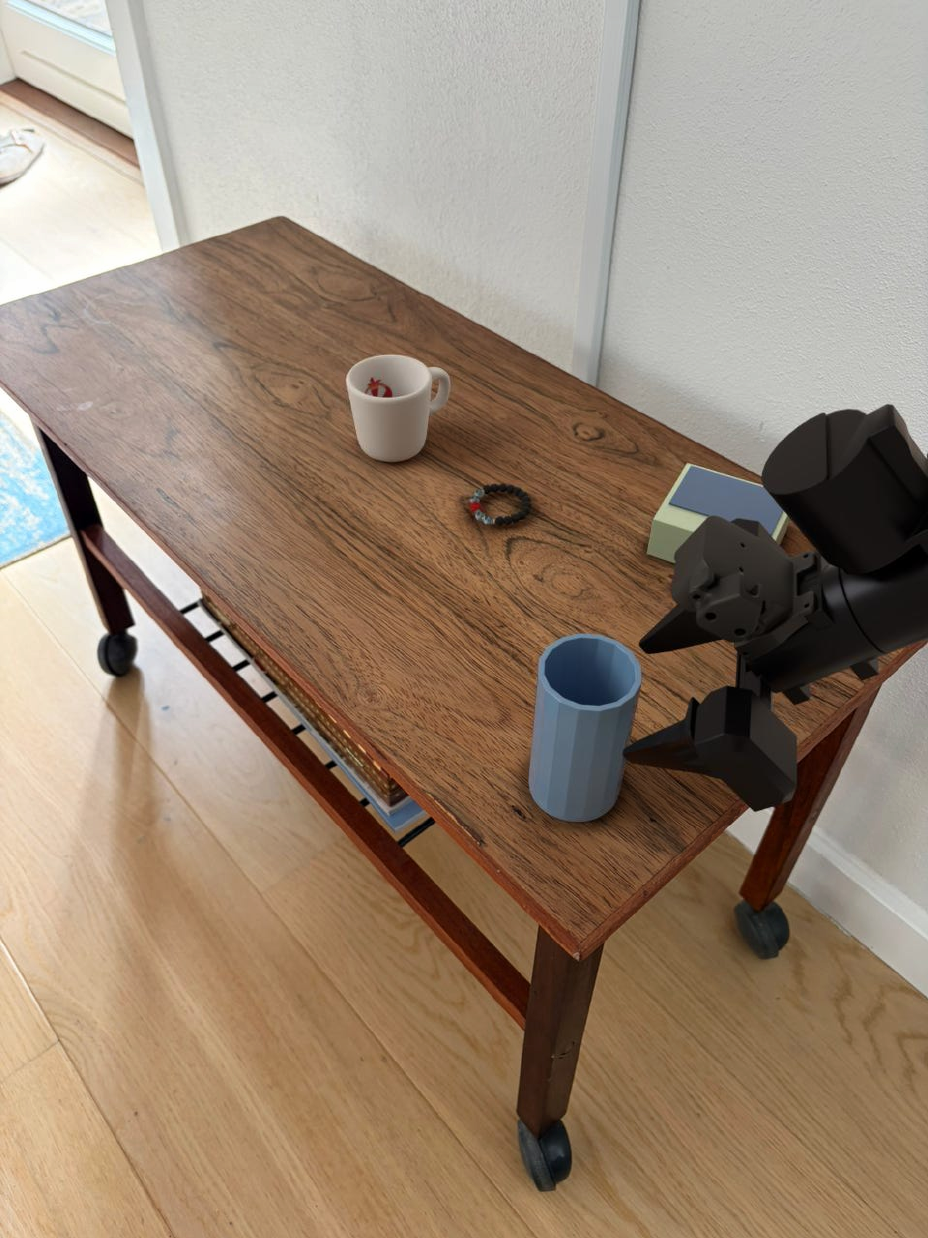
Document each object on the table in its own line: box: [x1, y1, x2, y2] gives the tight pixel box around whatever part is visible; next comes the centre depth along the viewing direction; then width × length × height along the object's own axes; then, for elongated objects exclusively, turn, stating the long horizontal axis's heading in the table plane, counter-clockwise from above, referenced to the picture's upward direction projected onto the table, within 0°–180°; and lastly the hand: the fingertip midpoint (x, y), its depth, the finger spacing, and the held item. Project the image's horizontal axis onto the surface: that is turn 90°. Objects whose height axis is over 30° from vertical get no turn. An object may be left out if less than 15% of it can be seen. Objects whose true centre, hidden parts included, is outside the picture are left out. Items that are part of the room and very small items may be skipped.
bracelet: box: [469, 482, 533, 527], centre depth 93 cm, size 6×6×1 cm
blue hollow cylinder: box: [527, 633, 643, 823], centre depth 68 cm, size 6×6×12 cm
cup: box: [345, 354, 451, 463], centre depth 98 cm, size 11×8×8 cm
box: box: [646, 462, 791, 564], centre depth 89 cm, size 10×9×4 cm
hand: (634, 699), depth 64 cm, fingers open, 9 cm apart
